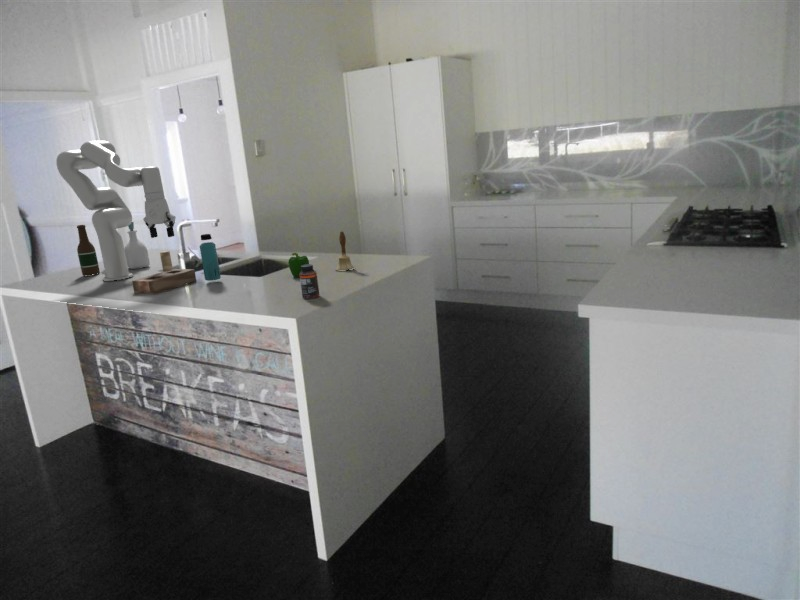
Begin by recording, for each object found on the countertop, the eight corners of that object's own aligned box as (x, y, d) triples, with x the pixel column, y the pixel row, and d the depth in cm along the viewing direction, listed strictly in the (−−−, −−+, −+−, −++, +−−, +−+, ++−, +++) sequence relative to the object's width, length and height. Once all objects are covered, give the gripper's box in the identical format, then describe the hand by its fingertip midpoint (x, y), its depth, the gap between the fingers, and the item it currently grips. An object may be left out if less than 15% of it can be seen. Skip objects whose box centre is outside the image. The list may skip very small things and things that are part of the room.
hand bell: (356, 266, 256) (352, 229, 252) (354, 270, 248) (350, 232, 244) (336, 268, 257) (332, 230, 253) (334, 272, 249) (329, 233, 245)
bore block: (134, 293, 240) (131, 280, 239) (174, 280, 260) (172, 268, 258) (156, 293, 235) (154, 281, 234) (196, 280, 255) (194, 269, 253)
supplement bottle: (314, 294, 213) (310, 262, 211) (322, 296, 209) (319, 264, 206) (299, 297, 210) (295, 265, 207) (307, 300, 205) (303, 267, 202)
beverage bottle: (217, 284, 245) (209, 235, 240) (202, 284, 246) (194, 235, 241) (224, 280, 251) (217, 232, 246) (210, 280, 252) (202, 233, 247)
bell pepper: (305, 272, 252) (302, 249, 250) (313, 275, 246) (310, 251, 243) (286, 276, 248) (283, 252, 246) (294, 279, 241) (291, 254, 239)
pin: (162, 280, 262) (157, 252, 260) (169, 278, 266) (164, 251, 263) (169, 280, 261) (164, 252, 258) (176, 278, 264) (171, 251, 261)
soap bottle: (146, 264, 307) (138, 219, 301) (151, 267, 299) (142, 221, 293) (126, 268, 301) (117, 222, 296) (130, 270, 294) (121, 223, 288)
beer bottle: (89, 276, 286) (78, 226, 280) (78, 276, 289) (67, 226, 283) (103, 273, 292) (93, 223, 286) (93, 272, 296) (82, 224, 290)
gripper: (133, 198, 255) (141, 239, 259) (163, 196, 248) (171, 237, 252) (146, 197, 261) (154, 236, 266) (176, 194, 254) (184, 234, 258)
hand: (162, 236), depth 259 cm, fingers open, 9 cm apart
